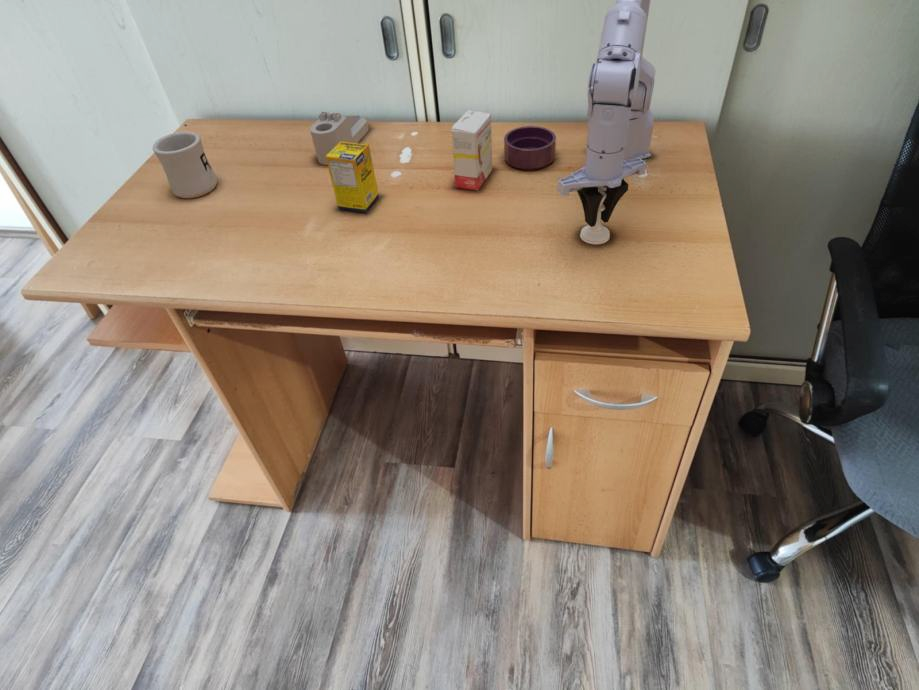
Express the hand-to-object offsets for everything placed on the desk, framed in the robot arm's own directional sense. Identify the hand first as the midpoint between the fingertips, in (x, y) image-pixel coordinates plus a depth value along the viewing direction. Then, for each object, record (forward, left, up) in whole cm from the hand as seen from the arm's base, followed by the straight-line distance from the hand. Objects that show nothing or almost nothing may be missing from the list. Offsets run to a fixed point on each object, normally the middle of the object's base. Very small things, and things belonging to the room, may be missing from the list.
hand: (596, 221), depth 97 cm
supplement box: (+34, -29, -3) cm, 45 cm away
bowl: (-2, -29, -3) cm, 29 cm away
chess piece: (0, 0, -3) cm, 3 cm away
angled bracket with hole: (+31, -54, -3) cm, 62 cm away
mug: (+63, -52, -3) cm, 82 cm away
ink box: (+11, -27, -3) cm, 29 cm away
